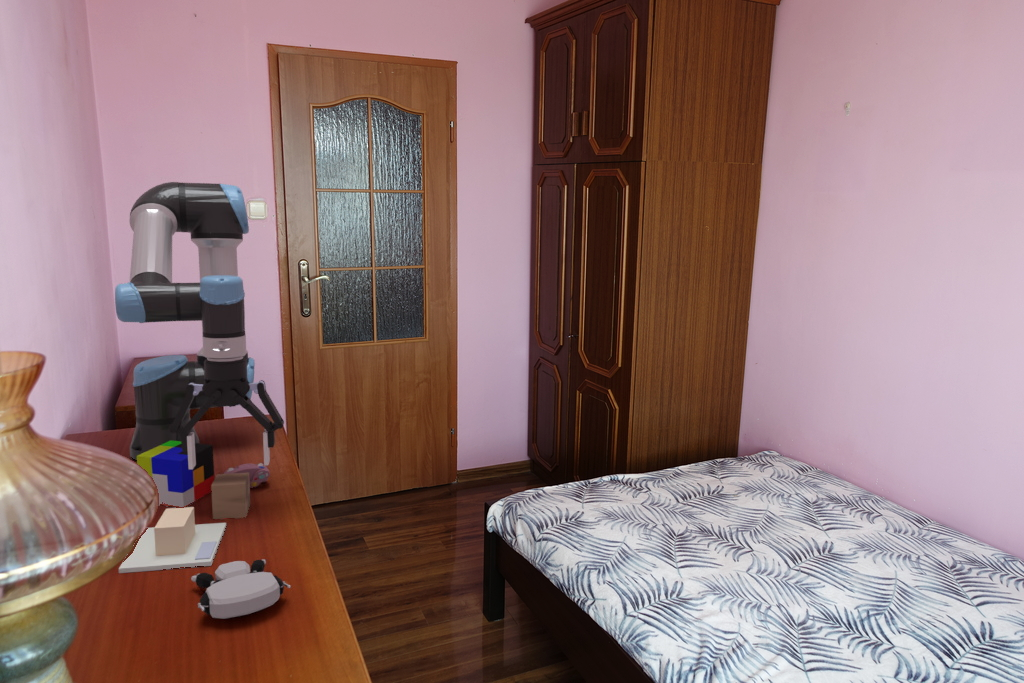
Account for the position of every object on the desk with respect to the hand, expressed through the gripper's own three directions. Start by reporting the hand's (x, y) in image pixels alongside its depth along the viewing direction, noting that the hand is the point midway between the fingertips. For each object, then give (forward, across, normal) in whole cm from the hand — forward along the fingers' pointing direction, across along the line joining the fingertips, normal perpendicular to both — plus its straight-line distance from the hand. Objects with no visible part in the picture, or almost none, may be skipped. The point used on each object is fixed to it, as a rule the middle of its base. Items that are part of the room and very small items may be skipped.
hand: (230, 465), depth 134 cm
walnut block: (+10, 0, +1) cm, 10 cm away
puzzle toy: (+10, -12, +11) cm, 19 cm away
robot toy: (+11, +6, -32) cm, 35 cm away
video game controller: (+10, +1, +13) cm, 16 cm away
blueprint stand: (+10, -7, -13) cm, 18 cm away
